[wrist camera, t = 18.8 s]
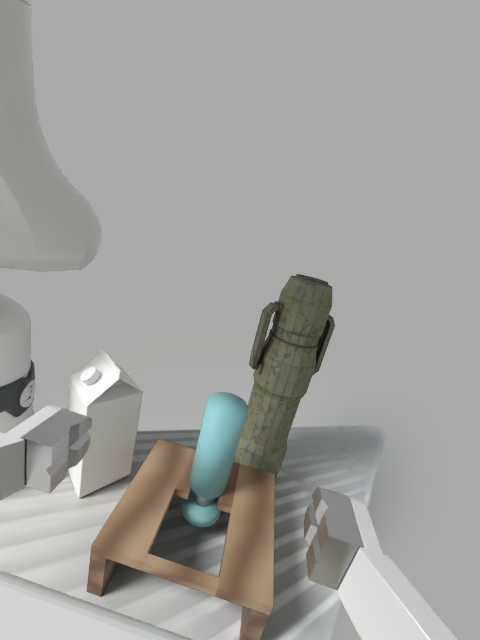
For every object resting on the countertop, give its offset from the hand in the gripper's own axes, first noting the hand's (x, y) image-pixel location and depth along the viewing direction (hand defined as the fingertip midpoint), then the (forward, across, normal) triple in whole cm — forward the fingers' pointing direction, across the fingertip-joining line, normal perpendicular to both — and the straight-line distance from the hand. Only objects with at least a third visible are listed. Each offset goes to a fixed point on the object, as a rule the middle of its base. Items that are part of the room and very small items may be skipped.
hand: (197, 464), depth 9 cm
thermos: (+32, -7, +30) cm, 45 cm away
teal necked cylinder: (+20, 0, +27) cm, 34 cm away
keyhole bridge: (+17, 0, +30) cm, 34 cm away
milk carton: (+23, +17, +30) cm, 41 cm away
